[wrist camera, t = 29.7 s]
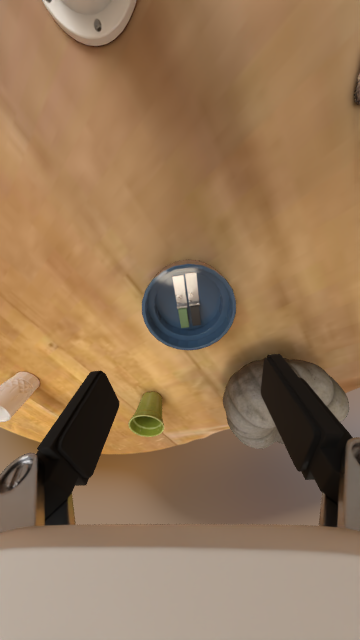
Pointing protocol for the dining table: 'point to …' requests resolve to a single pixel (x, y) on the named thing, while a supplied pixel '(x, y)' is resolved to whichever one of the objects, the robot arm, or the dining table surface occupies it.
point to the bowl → (213, 306)
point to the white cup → (16, 393)
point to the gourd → (250, 409)
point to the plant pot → (148, 416)
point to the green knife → (181, 300)
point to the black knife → (193, 297)
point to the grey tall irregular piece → (357, 91)
